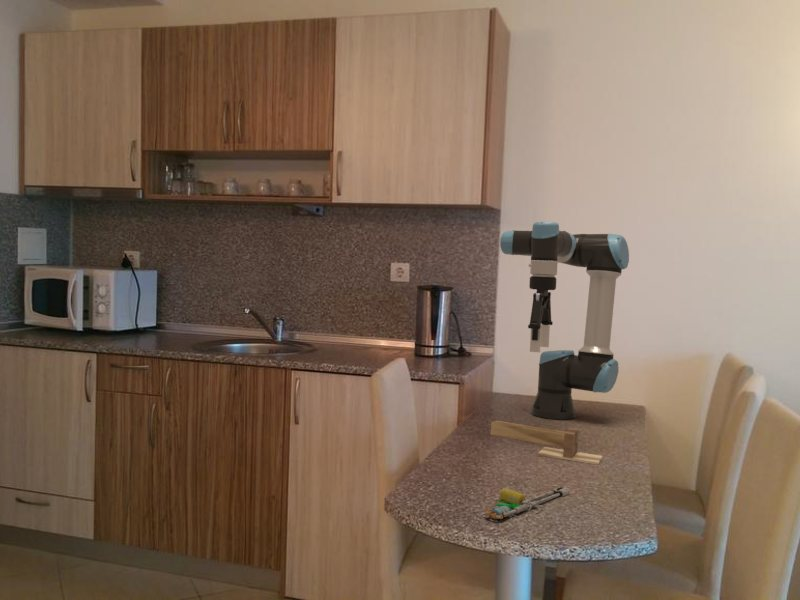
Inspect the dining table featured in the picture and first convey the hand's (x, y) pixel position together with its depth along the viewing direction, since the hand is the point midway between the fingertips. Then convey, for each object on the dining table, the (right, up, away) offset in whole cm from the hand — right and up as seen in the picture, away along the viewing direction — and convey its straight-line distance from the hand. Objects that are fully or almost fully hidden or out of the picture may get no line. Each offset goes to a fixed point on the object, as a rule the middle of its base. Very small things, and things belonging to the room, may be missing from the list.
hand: (539, 349), depth 199 cm
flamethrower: (-14, -29, -53) cm, 63 cm away
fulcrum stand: (+6, -28, -12) cm, 31 cm away
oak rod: (-2, -28, +5) cm, 28 cm away
